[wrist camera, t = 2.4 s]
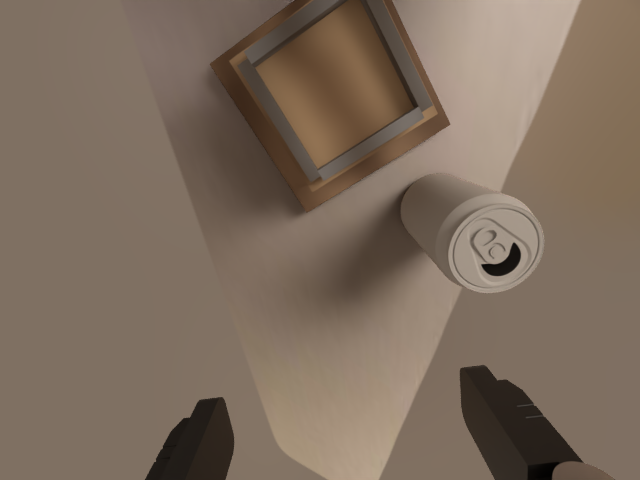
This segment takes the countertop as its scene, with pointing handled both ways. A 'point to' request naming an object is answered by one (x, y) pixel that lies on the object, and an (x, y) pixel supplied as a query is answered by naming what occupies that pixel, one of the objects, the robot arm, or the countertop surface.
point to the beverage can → (473, 232)
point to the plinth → (331, 92)
